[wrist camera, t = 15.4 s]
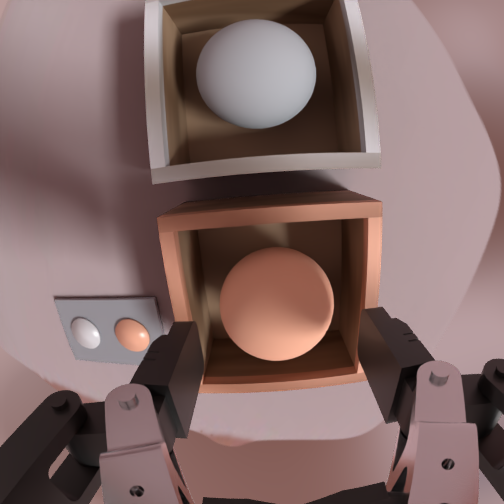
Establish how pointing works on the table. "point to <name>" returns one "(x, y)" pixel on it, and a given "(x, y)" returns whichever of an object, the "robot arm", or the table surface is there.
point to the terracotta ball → (276, 303)
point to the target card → (110, 327)
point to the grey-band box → (267, 139)
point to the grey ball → (256, 74)
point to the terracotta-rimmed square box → (265, 236)
